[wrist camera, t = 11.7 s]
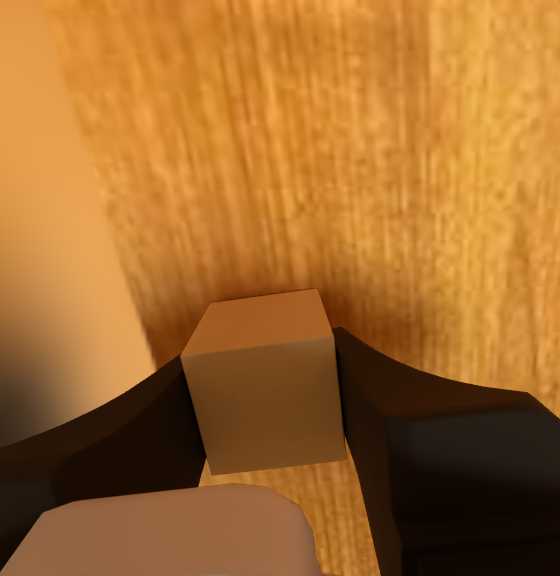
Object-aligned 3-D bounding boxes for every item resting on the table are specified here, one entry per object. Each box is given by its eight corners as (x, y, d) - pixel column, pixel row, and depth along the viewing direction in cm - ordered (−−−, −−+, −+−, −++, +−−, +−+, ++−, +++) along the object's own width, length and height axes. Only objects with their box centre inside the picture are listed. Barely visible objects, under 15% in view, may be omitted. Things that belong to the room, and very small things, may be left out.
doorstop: (328, 382, 14) (347, 460, 10) (230, 394, 14) (210, 476, 10) (317, 287, 12) (333, 335, 9) (210, 302, 13) (179, 355, 9)
